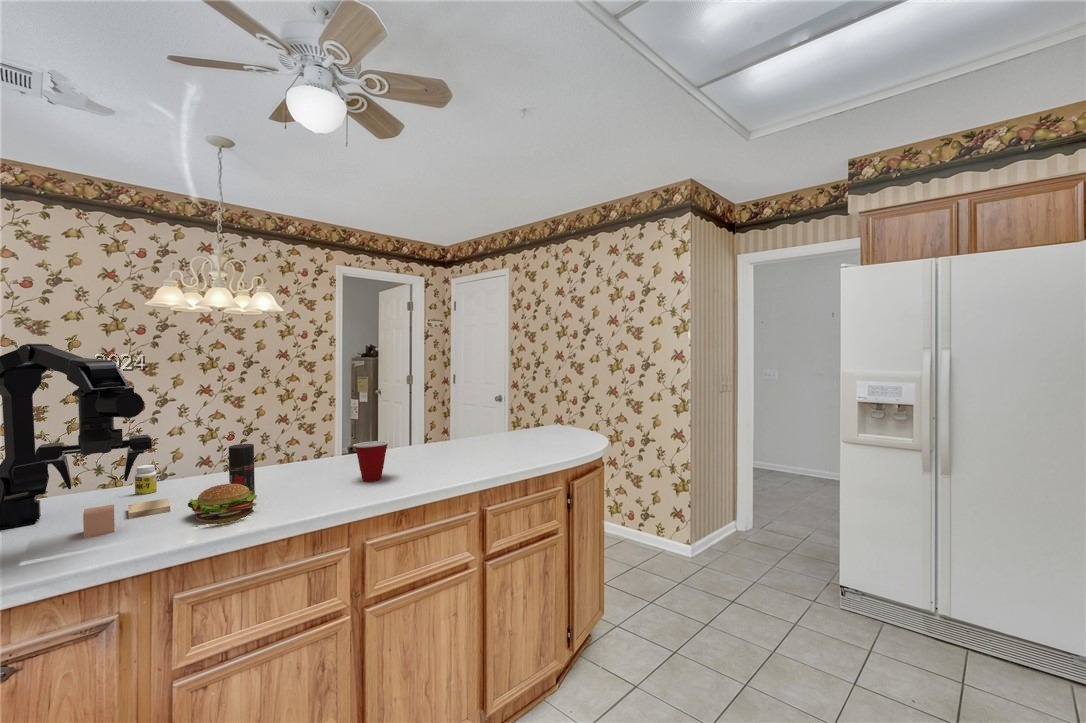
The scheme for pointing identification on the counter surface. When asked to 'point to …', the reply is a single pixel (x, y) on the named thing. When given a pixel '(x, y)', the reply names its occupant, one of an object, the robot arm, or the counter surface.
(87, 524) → the block
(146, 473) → the supplement bottle
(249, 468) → the deodorant
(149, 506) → the tan square slab
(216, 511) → the food
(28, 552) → the counter surface
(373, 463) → the plastic cup
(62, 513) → the counter surface
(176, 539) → the counter surface
